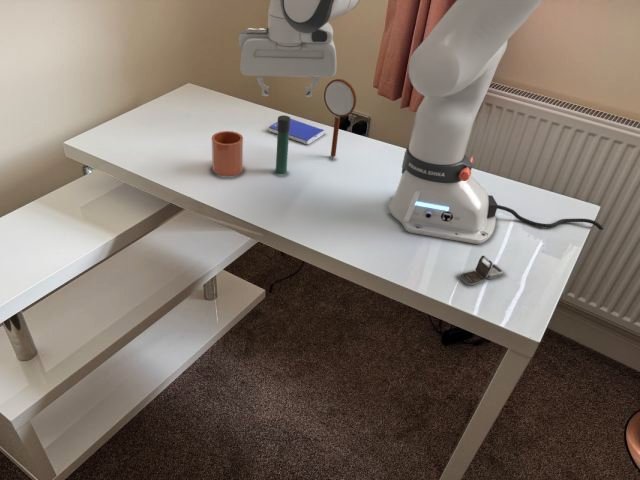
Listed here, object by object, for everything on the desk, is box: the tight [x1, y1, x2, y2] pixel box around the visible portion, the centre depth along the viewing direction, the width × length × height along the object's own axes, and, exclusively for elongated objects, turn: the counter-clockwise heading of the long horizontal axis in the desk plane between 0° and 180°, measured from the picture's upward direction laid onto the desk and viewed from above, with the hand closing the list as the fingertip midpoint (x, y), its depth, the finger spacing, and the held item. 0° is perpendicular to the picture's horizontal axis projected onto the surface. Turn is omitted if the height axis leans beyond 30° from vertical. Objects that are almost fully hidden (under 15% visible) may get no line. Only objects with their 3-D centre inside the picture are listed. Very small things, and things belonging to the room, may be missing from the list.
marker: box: [275, 115, 291, 175], centre depth 133 cm, size 3×3×14 cm
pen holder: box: [211, 130, 244, 177], centre depth 136 cm, size 7×7×8 cm
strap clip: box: [459, 255, 505, 286], centre depth 108 cm, size 8×3×4 cm, turn 114°
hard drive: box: [268, 118, 325, 145], centre depth 154 cm, size 2×8×12 cm
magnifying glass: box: [323, 78, 357, 160], centre depth 138 cm, size 9×2×20 cm, turn 50°
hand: (287, 95), depth 125 cm, fingers open, 8 cm apart
